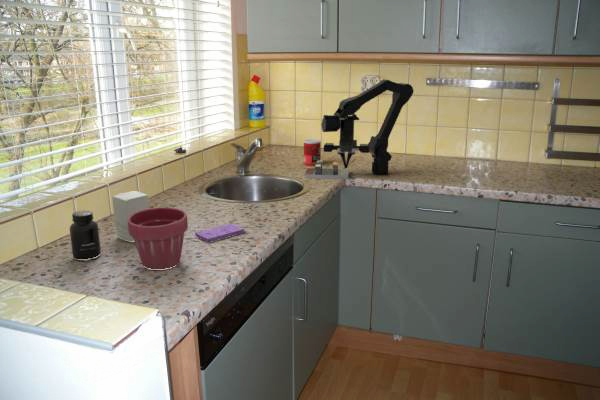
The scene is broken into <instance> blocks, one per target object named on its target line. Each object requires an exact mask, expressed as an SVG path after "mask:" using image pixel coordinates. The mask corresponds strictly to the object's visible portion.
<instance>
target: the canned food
mask: <svg viewBox="0 0 600 400" xmlns="http://www.w3.org/2000/svg"><path fill="white" fill-rule="evenodd" d="M321 146H322V144H321V140H319V139H313V138H312V139H311V138H310V139H304V140H303V164H304V165H305V166H309V167H315V165H316V164H317V160H322V159H321V151H322V149H321V148H322V147H321Z"/></svg>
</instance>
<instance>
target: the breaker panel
mask: <svg viewBox="0 0 600 400" xmlns="http://www.w3.org/2000/svg"><path fill="white" fill-rule="evenodd" d="M314 167H315V168H313V167H311V168H310V167H307V168H306V170H305V172H304V178H305V179H333V180H335V179H336V180H337V179H338V180H348V179H349V174H350V169H349V168H338V172H333V168H323V159H321V160H317V164H316V165H315V166H314Z"/></svg>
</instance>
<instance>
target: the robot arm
mask: <svg viewBox="0 0 600 400" xmlns="http://www.w3.org/2000/svg"><path fill="white" fill-rule="evenodd" d="M386 91H388V92H391V93H392V96H391V97H392V99H391V100H392V101H391V104H390V106H389V108H388V111H387V113H386V115H385V118H384V119H383V122H382V124H381V126H380V129H379V130H378V133H377V134H376V135H375V136H373V135H371V137H370V140H369V142H368V143H360V144H359V145H358V144H357V143H358V140H357V139H354V138H355V121H360V118H359V117H358V116H357V114H356V113H357V112H358V111H360V109H361V107H362V106H364V105H365V104H366V103H368V102H370V101H371V100H373V99H375V98H376V97H378V96H380V95H381V94H383V93H385V92H386ZM414 92H415V91H414V88H413V86H412V85H411V84H409V83H405V82H399V83H397V82H395V81H392V80H390V79H382V80H381V81H380V82H378V83H376V84H374V85H372V86H370V87H369V88H368V89H366V90H364V91H363V92H360V93H359V94H357V95H354V96H351V97H347V98H345V99H342V100H341V101H340V102H339V105H338V108H337V109H336V110H335V112H334V113H333V114H331V115H329V114H324V115H323V116H322V119H321V122H320V123H321V124H320V125H321V131H322V132H323V133H334V132H336V133H337V132H338V131H339V141H338V143H339V144H338V145H336V144H335V143H334V142H325V143H324V144H323V153H331V152H333V151H335V150H336V151H337V155H339V156H340V157H341V160H342V162H343V163H342V164H343V166H344V169H348V167H349V163H350V161H351V158H352V156H353V155H356V151H359V152H360V153H361V154H371V157H372V158H373V161H372V162H371V173H372V174H373V175H377V176H378V175H380V176H382V175H383V176H386V175H387V176H388V175H389V164H390V163H389V162H390V161H391V160H392V154H391V153H389V152H388V148H389V138H390V136H391V133H392V131H393V129H394V128H395V127H394V126H395V124H396V122H397V119H398V118H399V115H400V113H401V111H402V109H403V107H404V106H405V105H406V104H407V103H408V102H409V101H410V99H411V98H412V96H413V95H414ZM346 153H347V157H346Z"/></svg>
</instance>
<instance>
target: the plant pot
mask: <svg viewBox="0 0 600 400" xmlns="http://www.w3.org/2000/svg"><path fill="white" fill-rule="evenodd" d="M188 225H189V223H188V215H187V212H186V211H184V210H182V209H179V208H175V207H165V206H164V207H152V208H149V209H145V210H141V211H138V212H136V213H134V214H132V215H131V216H129V218H128V230H129V234H130V236H131V237H133V238H134V241H135V242H134V244H135V247H136V249H137V253H138V256H139V258H140V261H141V263H142V264H141V265H142V267H143V266H145V267H147V268H151V269H165V268H170V267H173V266H175V265H177V264H178V263H179V262H181V256H182V251H183V245H184V238H185V233H186V232H187V230H188V228H189V226H188ZM179 264H180V263H179ZM179 264H178V265H179ZM178 265H177V266H178Z"/></svg>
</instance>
